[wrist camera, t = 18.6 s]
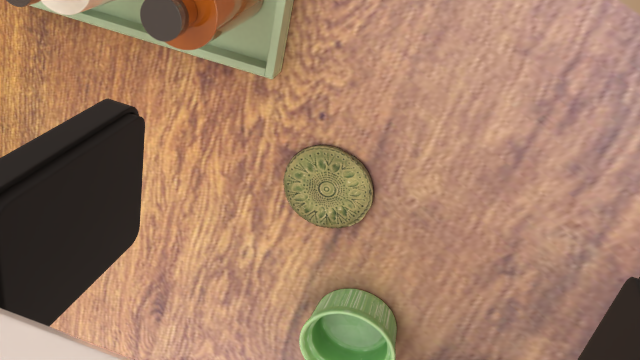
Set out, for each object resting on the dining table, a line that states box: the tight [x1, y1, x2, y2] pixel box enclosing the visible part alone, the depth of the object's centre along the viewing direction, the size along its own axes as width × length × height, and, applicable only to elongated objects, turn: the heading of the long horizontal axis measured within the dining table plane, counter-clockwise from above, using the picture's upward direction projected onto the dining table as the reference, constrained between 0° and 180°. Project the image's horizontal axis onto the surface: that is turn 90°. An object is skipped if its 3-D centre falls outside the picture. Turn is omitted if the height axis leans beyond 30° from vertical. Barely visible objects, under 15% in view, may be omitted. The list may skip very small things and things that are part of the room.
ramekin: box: [299, 289, 397, 360], centre depth 55 cm, size 9×9×4 cm
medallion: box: [284, 145, 373, 228], centre depth 51 cm, size 8×8×1 cm
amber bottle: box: [140, 0, 264, 50], centre depth 40 cm, size 5×5×11 cm
